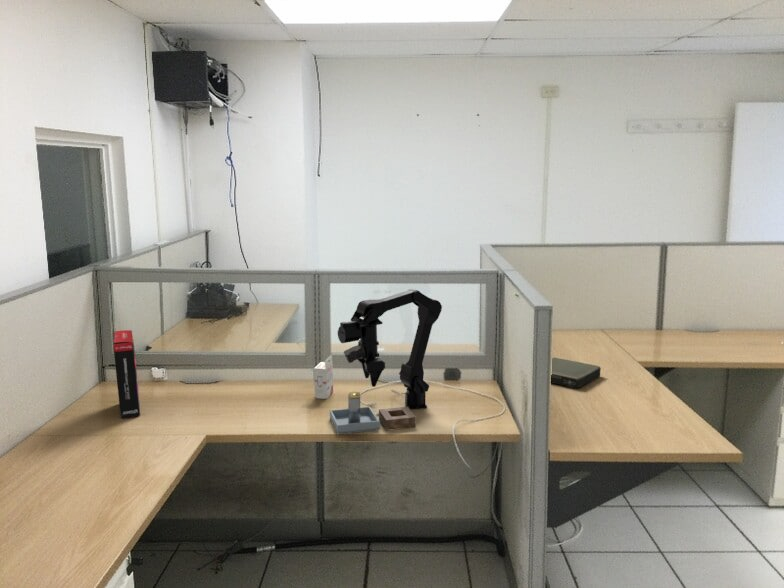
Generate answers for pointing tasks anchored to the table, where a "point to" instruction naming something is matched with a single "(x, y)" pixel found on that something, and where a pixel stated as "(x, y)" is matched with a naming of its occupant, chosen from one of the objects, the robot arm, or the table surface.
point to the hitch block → (397, 418)
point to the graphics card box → (126, 373)
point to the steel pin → (353, 407)
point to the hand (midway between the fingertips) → (370, 382)
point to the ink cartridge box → (323, 379)
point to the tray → (366, 423)
